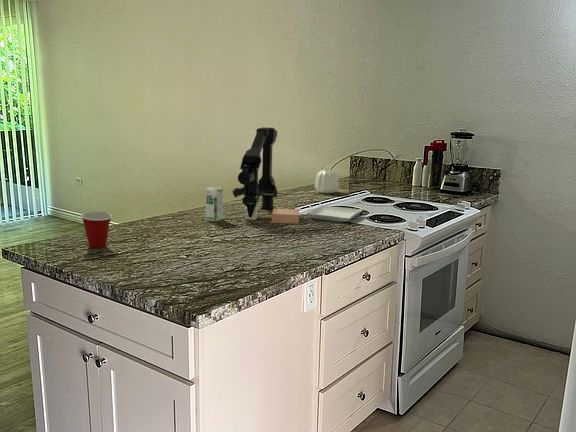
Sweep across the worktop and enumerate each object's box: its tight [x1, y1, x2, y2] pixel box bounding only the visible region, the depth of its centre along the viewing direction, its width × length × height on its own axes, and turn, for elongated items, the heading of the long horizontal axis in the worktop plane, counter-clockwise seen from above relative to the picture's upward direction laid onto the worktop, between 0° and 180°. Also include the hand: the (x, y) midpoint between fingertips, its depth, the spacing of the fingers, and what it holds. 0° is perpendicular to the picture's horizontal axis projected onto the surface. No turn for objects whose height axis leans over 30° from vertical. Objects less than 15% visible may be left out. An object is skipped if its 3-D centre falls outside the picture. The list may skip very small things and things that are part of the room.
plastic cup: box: [80, 211, 113, 249], centre depth 209 cm, size 11×11×12 cm
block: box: [244, 206, 258, 221], centre depth 262 cm, size 5×5×5 cm
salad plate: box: [306, 205, 363, 223], centre depth 269 cm, size 21×21×3 cm
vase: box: [314, 168, 340, 195], centre depth 333 cm, size 14×14×13 cm
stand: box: [271, 208, 300, 225], centre depth 260 cm, size 12×12×4 cm
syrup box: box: [205, 186, 224, 222], centre depth 256 cm, size 6×6×14 cm
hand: (251, 215), depth 262 cm, fingers open, 9 cm apart
